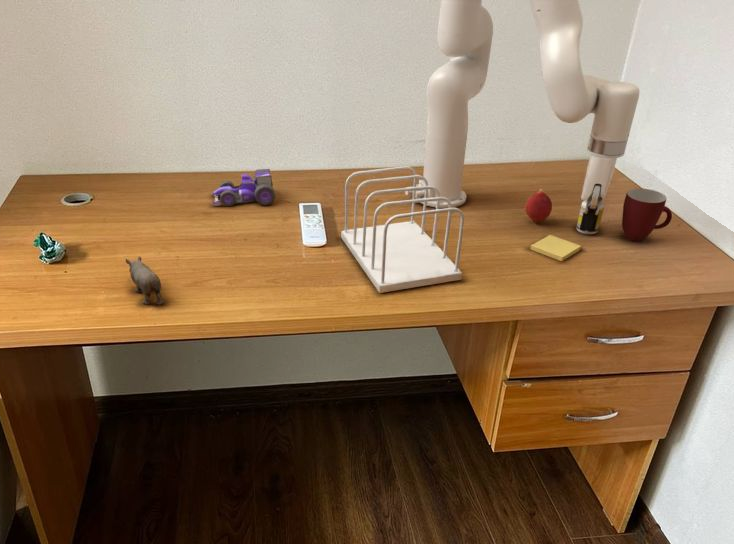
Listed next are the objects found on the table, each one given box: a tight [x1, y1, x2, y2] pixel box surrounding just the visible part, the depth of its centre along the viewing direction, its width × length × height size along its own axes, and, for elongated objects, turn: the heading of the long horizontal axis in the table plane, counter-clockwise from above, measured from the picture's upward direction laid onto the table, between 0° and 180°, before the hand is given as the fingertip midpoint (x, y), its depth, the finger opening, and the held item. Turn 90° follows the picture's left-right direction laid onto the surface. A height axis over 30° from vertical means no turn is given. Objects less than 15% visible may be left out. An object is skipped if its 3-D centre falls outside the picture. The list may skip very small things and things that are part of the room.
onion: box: [525, 188, 553, 224], centre depth 152 cm, size 6×6×8 cm
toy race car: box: [212, 168, 276, 207], centre depth 163 cm, size 10×15×6 cm, turn 100°
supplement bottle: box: [576, 195, 605, 235], centre depth 148 cm, size 5×5×8 cm
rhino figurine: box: [125, 256, 165, 306], centre depth 126 cm, size 4×14×6 cm, turn 33°
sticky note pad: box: [530, 234, 582, 262], centre depth 143 cm, size 8×8×1 cm
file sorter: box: [340, 165, 465, 294], centre depth 135 cm, size 25×17×16 cm
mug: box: [621, 188, 673, 243], centre depth 145 cm, size 11×8×10 cm
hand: (588, 224), depth 150 cm, fingers closed on supplement bottle, 4 cm apart
